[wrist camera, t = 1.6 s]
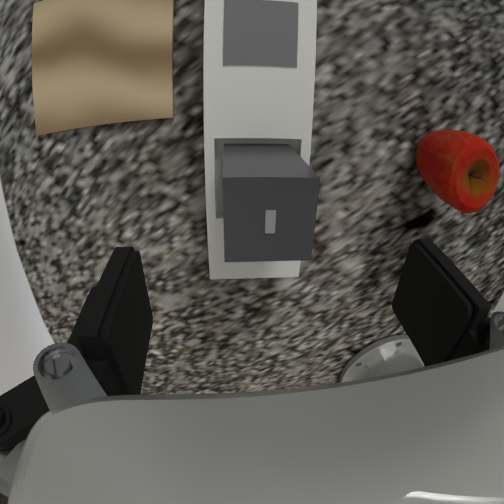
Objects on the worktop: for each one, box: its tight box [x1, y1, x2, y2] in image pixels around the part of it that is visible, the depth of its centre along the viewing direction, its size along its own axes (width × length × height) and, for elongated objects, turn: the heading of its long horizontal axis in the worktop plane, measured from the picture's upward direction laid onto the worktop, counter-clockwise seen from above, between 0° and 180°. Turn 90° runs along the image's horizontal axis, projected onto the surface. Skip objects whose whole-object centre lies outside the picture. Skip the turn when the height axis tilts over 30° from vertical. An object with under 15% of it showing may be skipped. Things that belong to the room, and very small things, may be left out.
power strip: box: [204, 0, 317, 279], centre depth 17 cm, size 38×7×4 cm, turn 179°
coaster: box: [32, 0, 174, 136], centre depth 19 cm, size 12×12×1 cm
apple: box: [415, 130, 500, 213], centre depth 22 cm, size 6×6×8 cm
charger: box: [223, 143, 320, 262], centre depth 19 cm, size 4×5×8 cm
